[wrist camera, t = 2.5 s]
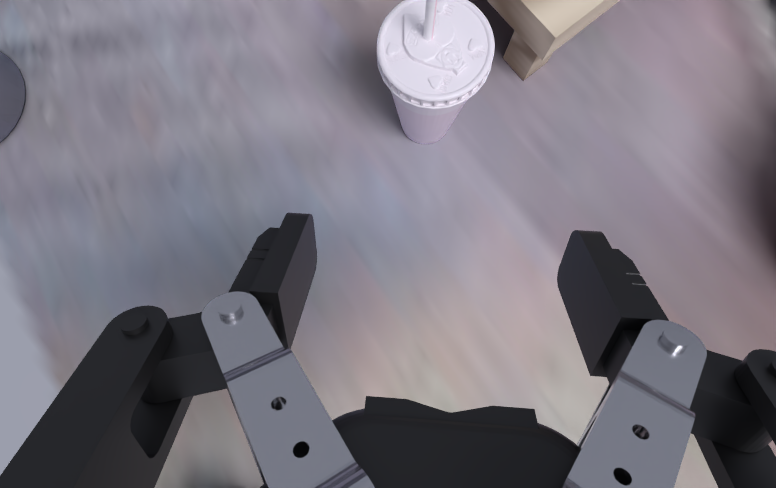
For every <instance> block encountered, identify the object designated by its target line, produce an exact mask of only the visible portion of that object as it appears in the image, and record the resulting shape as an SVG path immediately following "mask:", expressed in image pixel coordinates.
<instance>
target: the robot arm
mask: <svg viewBox="0 0 776 488" xmlns="http://www.w3.org/2000/svg"><path fill="white" fill-rule="evenodd" d="M24 102H25V86H24V80H23V78H22V75H21V73H20V70H19V69H18V67H17V66H16V65H15V63H14V62H13V61H12V60H11V59H10V58H9V57H7V56H6V55H5V54H3V53H2V52H0V142H1V141H2V140H3V139H4V138H5V137H6V136H8V134H9V133H10V132H11V131H12V129H13V128H14V127H15V125H16V123H17V121H18V120H19V118H20V116H21V113H22V110H23V106H24ZM316 263H317V250H316V241H315V231H314V222H313V216H312V215H311V214H301V213H287V214H286V216H285V218H284V220H283V222H282V224H281V226H280V228H269V229H267V230H266V231H265V232H264V233H262V234H261V235H260V236H259V237H258V238H257V240H256V242H255V244H254V246H253V247H252V251H250V253H249V255H248V257H247V260H245V262H244V264H243V266H242V268H241V270H240V272H239V274H238V275H237V277H236V279H235V281H234V283H233V285H232V287H231V288H230V290H229V292H228V293H225V294H222V295H220V296H218V297H216V298H214V299H213V300H211V301H210V302H209V303H208V304H207V305H206V306H205V308H204V310H203V312H200V313H196V314H191V315H186V316H180V317H175V318H169V319H168V318H167V315H166V313H165V312H164V311H163V310H162V309H161V308H158V307H155V306H140V307H136V308H132V309H130V310H127V311H125V312H123V313H121V314H120V315H118V316H117V317H115V318H114V319H113V320H112V321H111V322H110V323H109V324H108V325H107V326H106V328H105V329H104V331H103V332H102V333H101V335H100V336H99V338H98V339H97V341H96V342H95V343H94V345H93V346H92V348H91V349H90V350H89V352H88V353H87V355H86V356H85V357H84V359H83V360H82V362H81V363H80V364H79V366H78V367H77V369H76V370H75V371H74V373H73V374H72V376H71V377H70V378H69V380H68V381H67V383H66V384H65V385H64V387H63V388H62V390H61V391H60V393H59V394H58V395H57V397H56V398H55V400H54V401H53V402H52V404H51V405H50V407H49V408H48V409H47V411H46V412H45V414H44V415H43V416H42V418H41V419H40V421H39V422H38V424H37V425H36V426H35V428H34V429H33V431H32V432H31V433H30V435H29V436H28V438H27V439H26V440H25V442H24V443H23V445H22V446H21V447H20V449H19V450H18V452H17V453H16V455H15V456H14V457H13V459H12V460H11V461H10V463H9V464H8V466H7V467H6V469H5V470H4V471H3V473H2V474H1V476H0V488H154V487H155V485H156V482H157V480H158V478H159V475H160V473H161V471H162V468H163V466H164V463H165V461H166V459H167V456H168V454H169V452H170V449H171V447H172V445H173V442H174V440H175V437H176V435H177V433H178V430H179V428H180V426H181V423H182V421H183V419H184V416H185V414H186V412H187V409H188V407H189V404H190V402H191V400H192V397H193V396H195V395H199V394H204V393H208V392H213V391H218V390H222V389H227V390H228V393H229V395H230V398H231V400H232V403H233V405H234V408H235V410H236V413H237V416H238V418H239V421H240V423H241V426H242V428H243V431H244V433H245V436H246V439H247V441H248V444H249V446H250V449H251V452H252V454H253V457H254V460H255V462H256V465H257V467H258V470H259V473H260V475H261V478H262V480H263V483H264V484H263V485H262V486H261V487H260V488H674V485H675V482H676V478H677V475H678V472H679V469H680V465H681V462H682V459H683V456H684V452H685V449H686V446H687V443H688V440H689V436H690V433H692V434H694V436H695V438H696V440H697V442H698V444H699V446H700V449H701V451H702V453H703V455H704V457H705V459H706V462H707V464H708V466H709V468H710V470H711V472H712V475H713V477H714V479H715V481H716V483H717V485H718V488H776V456H775V455H774V453H773V451H772V450H771V448H770V446H769V445H768V444H769V443H770V442H771V441H772V440H773V441H774V443H775V445H776V352H775V351H771V350H763V349H759V350H754V351H752V352H750V353H749V354H748V355H747V356H746V357H745V359H744V360H743V361H741V360H738V359H735V358H731V357H728V356H725V355H721V354H718V353H715V352H711V351H708V350H706V348H705V346H704V344H703V342H702V341H701V340H700V339H699V338H698V337H697V336H696V335H695V334H694V333H693V332H691V331H690V330H688V329H687V328H685V327H683V326H681V325H679V324H676V323H674V322H670V321H669V320H668V318H667V317H666V315H665V313H664V312H663V310H662V309H661V307H660V305H659V304H658V302H657V300H656V299H655V297H654V295H653V294H652V292H651V291H650V289H649V287H648V286H646V282H645V281H644V279H643V278H642V276H640V273H639V271H638V269H637V268H636V266H635V264H634V263H633V261H632V260H631V259H630V258H628V257H627V256H626V255H625V254H623V253H622V252H621V251H620V250H619V249H612V248H611V246H610V244H609V243H608V241H607V239H606V237H605V236H604V234H603V233H602V232H597V231H580V230H575V231H573V232H572V234H571V236H570V239H569V241H568V244H567V247H566V250H565V253H564V255H563V258H562V261H561V264H560V266H559V270H558V276H557V282H558V288H559V291H560V294H561V296H562V299H563V302H564V305H565V307H566V310H567V313H568V316H569V318H570V321H571V324H572V327H573V329H574V332H575V335H576V338H577V340H578V343H579V346H580V349H581V351H582V354H583V357H584V360H585V362H586V365H587V368H588V371H589V373H590V376H601V377H607V379H608V381H609V385H608V387H607V389H606V391H605V392H604V394H603V396H602V398H601V400H600V402H599V404H598V406H597V408H596V410H595V411H594V413H593V415H592V417H591V419H590V421H589V423H588V425H587V427H586V429H585V431H584V432H583V434H582V436H581V438H580V440H579V442H578V443H577V445H576V444H575V443H574V442H572V441H571V440H569V439H568V438H567V437H565V436H564V435H562V434H560V433H559V432H557V431H555V430H553V429H551V428H549V427H547V426H544V425H542V424H539V423H537V419H536V414H535V410H534V409H527V408H514V407H501V406H489V407H483V408H477V409H471V410H466V411H460V412H453V413H450V412H445V411H442V410H439V409H436V408H433V407H429V406H426V405H423V404H420V403H417V402H414V401H411V400H408V399H397V398H384V397H371V396H366V402H365V409H361V410H356V411H353V412H350V413H346V414H344V415H342V416H340V417H337V418H336V419H334V420H331V418H330V417H329V415H328V413H327V411H326V410H325V408H324V406H323V404H322V403H321V401H320V399H319V397H318V396H317V394H316V392H315V390H314V389H313V387H312V385H311V383H310V382H309V380H308V378H307V376H306V375H305V373H304V371H303V369H302V368H301V366H300V364H299V363H298V361H297V359H296V357H295V356H294V354H293V352H292V351H291V346H292V343H293V340H294V336H295V333H296V330H297V327H298V324H299V321H300V318H301V314H302V311H303V308H304V305H305V302H306V299H307V296H308V292H309V289H310V286H311V283H312V280H313V277H314V274H315V270H316Z"/></svg>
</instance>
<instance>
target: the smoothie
mask: <svg viewBox="0 0 776 488" xmlns="http://www.w3.org/2000/svg"><path fill="white" fill-rule="evenodd" d="M494 50H495V43H494V35H493V31H492V28H491V26H490V24H489V22H488V20H487V18H486V17H485V15H484V14H483V13H482V12H481V11H480V10H479V9H478V8H477V7H476V6H475V5H474V4H473V3H471V2H470V1H468V0H404V1H402V2H401V3H400V4H398V5H397V6H396V7H395V8H394V9H393V10H392V11H391V12H390V13H389V14H388V15H387V17H386V18H385V20H384V22H383V23H382V26H381V28H380V31H379V34H378V39H377V62H378V69H379V71H380V74H381V76H382V79H383V81H384V83H385V84H386V85H387V86H388V88H389V89H390V90H391V93H392V96H393V99H394V103H395V106H396V109H397V112H398V115H399V119H400V122H401V125H402V128H403V131H404V133H405V134H406V135H407V137H408V138H410V139H411V140H412V141H414V142H416V143H420V144H431V143H435V142H437V141H439V140H440V139H441V138H443V137H444V135H445V134H446V133H447V131H448V129H449V128H450V126H451V125H452V123H453V121H454V120H455V118H456V117H457V115H458V113H459V112H460V110H461V109H462V107H463V105H464V104H465V102H466V101H467V99H469V98H470V97H471V96H473V95H474V94H476V93H477V91H478V90H479V89H480V88H481V86H482V85H483V84H484V83H485V81H486V79H487V77H488V74H489V72H490V70H491V65H492V61H493V57H494Z"/></svg>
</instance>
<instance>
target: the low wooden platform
mask: <svg viewBox="0 0 776 488" xmlns="http://www.w3.org/2000/svg"><path fill="white" fill-rule="evenodd" d="M487 1H488V2H489V3H490V4H491V5H492V6H493V8H494V9H495V10H496V11H497V12H498V13H499V14H500V15H501V16H502V17H503V18H504V20H505V21H506V22H507V23H508V24H509V25H510V26H511V27H512V28H513V29H514V33H513V35H512V38H511V40H510V42H509V45H508V47H507V49H506V52H505V54H504V57H503V59H504V60H505V61H506V62H507V63H508V64H509V66H510V67H511V68H512V69H513V70H514V71H515V72H516V73H517V74H518V76H519V77H520V78H521V79H522V80H523V81H524V80H525V79H526V78H528V77H529V76H530V75H531V74H533V73H534V72H535V71H537V70H538V69H539V68H541V67H542V66H543V65H544V64H546V63H547V62H548V60H549V59H550V57H551V55H552V54H553V52H554V51H555V50H557V49H558V48H559V47H561V46H562V45H563V44H564V43H566V42H567V41H568V40H570V39H571V38H572V37H573V36H575V35H576V34H577V33H579V32H580V31H581V30H583V29H584V28H585V27H586V26H588V25H589V24H590V23H592V22H593V21H594V20H595V19H597V18H598V17H599V16H601V15H602V14H603V13H604V12H606V11H607V10H608V9H610V8H611V7H612V6H613V5H615V4H616V3H617V2H619V1H620V0H487Z"/></svg>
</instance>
